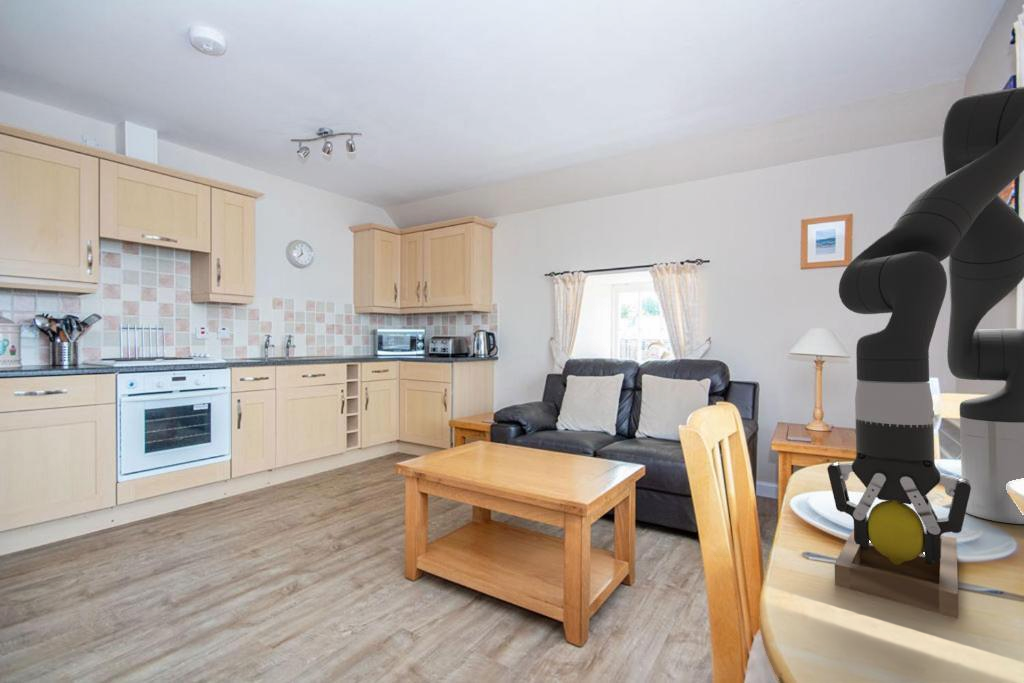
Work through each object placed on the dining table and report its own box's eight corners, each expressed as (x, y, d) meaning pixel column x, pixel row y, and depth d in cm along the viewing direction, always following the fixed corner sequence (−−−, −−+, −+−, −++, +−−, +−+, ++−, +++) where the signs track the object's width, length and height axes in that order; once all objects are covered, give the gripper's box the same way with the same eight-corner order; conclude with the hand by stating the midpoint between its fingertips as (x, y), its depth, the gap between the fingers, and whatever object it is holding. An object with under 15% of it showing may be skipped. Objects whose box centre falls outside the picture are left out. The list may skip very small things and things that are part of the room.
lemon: (904, 555, 61) (902, 492, 61) (938, 575, 56) (936, 506, 56) (858, 553, 62) (856, 491, 62) (887, 573, 56) (885, 505, 56)
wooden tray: (858, 546, 73) (858, 519, 73) (957, 567, 66) (956, 538, 66) (835, 596, 58) (834, 563, 58) (958, 632, 51) (957, 594, 51)
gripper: (818, 416, 61) (821, 549, 61) (975, 427, 51) (979, 586, 51) (829, 410, 67) (832, 532, 66) (972, 419, 57) (976, 562, 57)
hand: (896, 554), depth 59 cm, fingers closed on lemon, 5 cm apart
